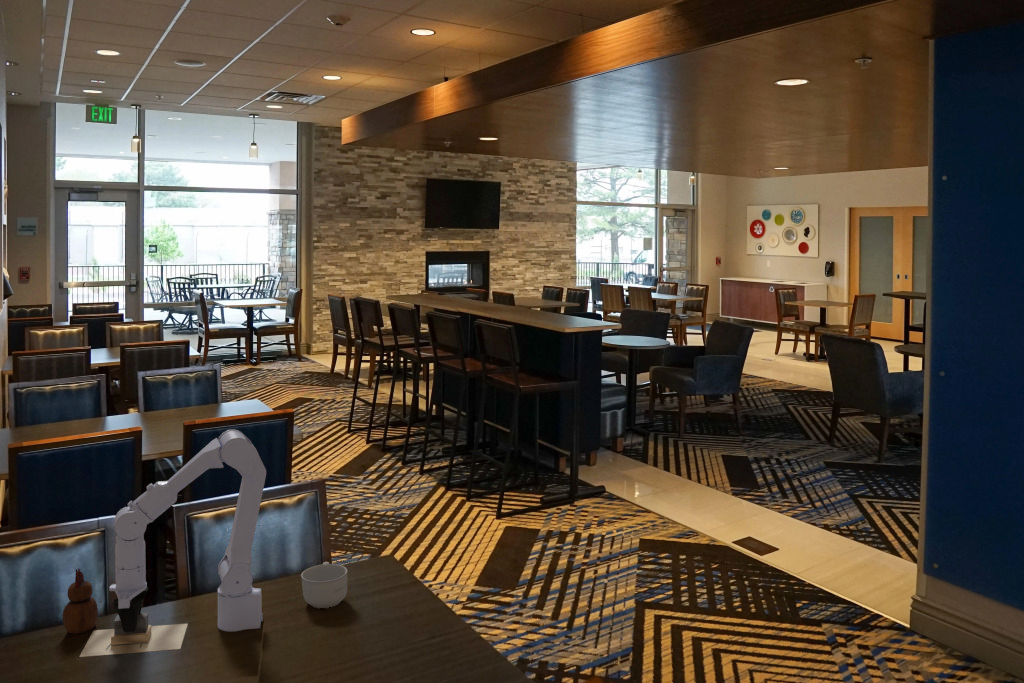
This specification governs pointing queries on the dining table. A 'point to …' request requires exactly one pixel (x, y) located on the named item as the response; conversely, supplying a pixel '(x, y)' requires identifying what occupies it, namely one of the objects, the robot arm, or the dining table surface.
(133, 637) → the block
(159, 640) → the board
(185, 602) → the dining table surface
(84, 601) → the wooden figurine
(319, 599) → the teacup
